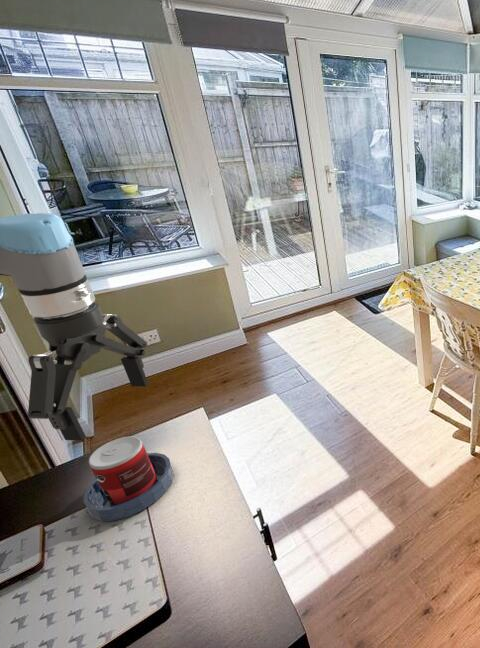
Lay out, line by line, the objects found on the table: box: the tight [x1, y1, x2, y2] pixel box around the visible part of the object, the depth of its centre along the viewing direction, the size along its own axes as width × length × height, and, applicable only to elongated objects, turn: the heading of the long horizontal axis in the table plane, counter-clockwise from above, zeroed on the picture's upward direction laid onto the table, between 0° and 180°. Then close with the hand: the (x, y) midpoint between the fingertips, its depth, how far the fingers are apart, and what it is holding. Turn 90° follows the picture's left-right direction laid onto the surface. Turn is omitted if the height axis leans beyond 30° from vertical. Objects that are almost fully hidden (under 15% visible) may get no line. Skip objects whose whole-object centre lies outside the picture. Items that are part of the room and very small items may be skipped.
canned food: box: [88, 436, 157, 505], centre depth 83 cm, size 8×8×11 cm
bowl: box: [83, 452, 175, 522], centre depth 85 cm, size 13×13×4 cm
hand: (110, 409), depth 76 cm, fingers open, 13 cm apart
